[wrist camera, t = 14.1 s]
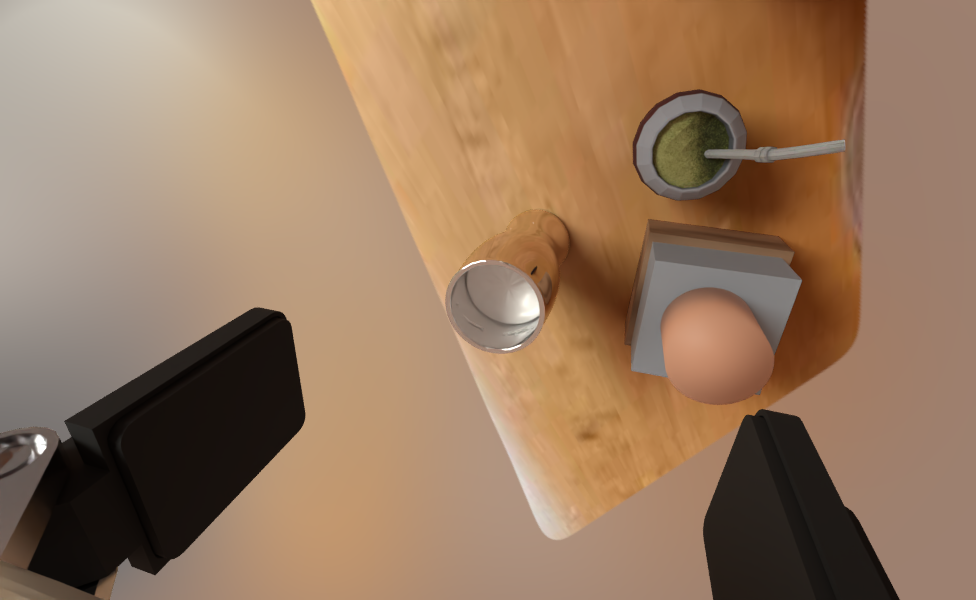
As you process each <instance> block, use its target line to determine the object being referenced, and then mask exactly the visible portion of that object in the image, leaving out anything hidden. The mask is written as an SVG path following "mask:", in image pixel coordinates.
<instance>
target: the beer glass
mask: <svg viewBox="0 0 976 600" xmlns="http://www.w3.org/2000/svg"><path fill="white" fill-rule="evenodd" d="M569 244H570V242H569V235H568V232H567V229H566V227H565V226H564V224H563V223H562V222H561V220H560V219H558V218H557V217H556V216H555V215H553V214H551V213H549V212H547V211H543V210H528V211H525V212H522V213H520V214H518V215H517V216H516V217H514V218H513V219H512V221H511V222H510V223H509V225H508V226H507V228H506V231H504V232H502V233H499V234H497V235H495V236H493V237H491V238H489V239H488V240H486V241H485V242H483V243H482V244H481V245H480V246H479V247H477V248H476V249H475V250H474V251H473V252H472V253H471V255H470V256H469V257H468V258H467V259H466V260H465V262H464V263H463V265H462V266H461V267H460V269H459V270H458V272H457V273H456V274H455V275H454V276H453V278H452V279H451V281H450V283H449V285H448V288H447V292H446V310H447V314H448V317H449V320H450V322H451V324H452V325H453V327H454V329H455V330H456V331H457V333H458V334H459V335H460V336H461V337H462V338H463V339H464V340H465V341H467V342H468V343H469V344H471V345H473V346H474V347H476V348H478V349H481V350H483V351H487V352H491V353H499V354H504V353H512V352H515V351H518V350H521V349H523V348H525V347H526V346H528V345H529V344H530V343H532V342H533V341H534V340H535V338H536V337H537V336H538V334H539V333H540V331H541V329H542V326H543V325H544V323H545V321H546V320H547V318H548V316H549V314H550V312H551V310H552V308H553V306H554V304H555V301H556V298H557V294H558V290H559V285H560V265H561V264H562V263H563V261H564V260H565V258H566V256H567V254H568V251H569Z"/></svg>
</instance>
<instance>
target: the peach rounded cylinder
mask: <svg viewBox="0 0 976 600" xmlns="http://www.w3.org/2000/svg"><path fill="white" fill-rule="evenodd" d="M660 330H661V338H662V346H663V354H664V362H665V370H666V373H667V376H668V378H669V380H670V381H671V383H672V384H673V386H674V387H675V388H676V389H677V390H678V391H680V392H681V393H682V394H684V395H685V396H687V397H689V398H691V399H693V400H695V401H698V402H702V403H706V404H714V405H723V404H732V403H736V402H739V401H742V400H745V399H747V398H749V397H751V396H753V395H754V394H756V393H757V392H758V391H759V390H761V389H762V388H763V387H764V386H765V384H766V383H767V382H768V380H769V379H770V377H771V374H772V372H773V368H774V354H773V350H772V348H771V345H770V343H769V342H768V340H767V338H766V336H765V334H764V333H763V331H762V329H761V327H760V326H759V324H758V322H757V320H756V318H755V317H754V315H753V313H752V311H751V309H750V308H749V306H748V305H747V304H746V302H745V301H744V300H743V299H742V298H740V297H739V296H737V295H736V294H734V293H732V292H730V291H727V290H724V289H720V288H713V287H705V288H698V289H693V290H690V291H688V292H685V293H683V294H681V295H680V296H678V297H677V298H675V299H674V300H673V301H672V302H671V303H670V304H669V305H668V307H667V308H666V309H665V311H664V313H663V316H662V319H661V324H660Z"/></svg>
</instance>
